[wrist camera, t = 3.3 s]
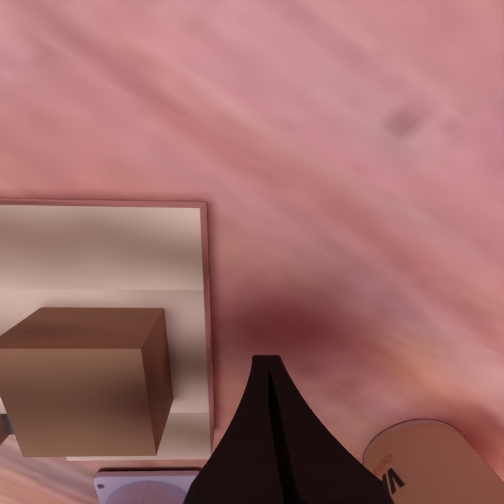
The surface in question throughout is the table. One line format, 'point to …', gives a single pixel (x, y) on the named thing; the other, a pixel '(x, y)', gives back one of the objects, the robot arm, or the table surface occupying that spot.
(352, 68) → the table surface
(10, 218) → the board
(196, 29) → the table surface
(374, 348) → the table surface
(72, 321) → the walnut block
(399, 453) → the coffee cup
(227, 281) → the table surface
